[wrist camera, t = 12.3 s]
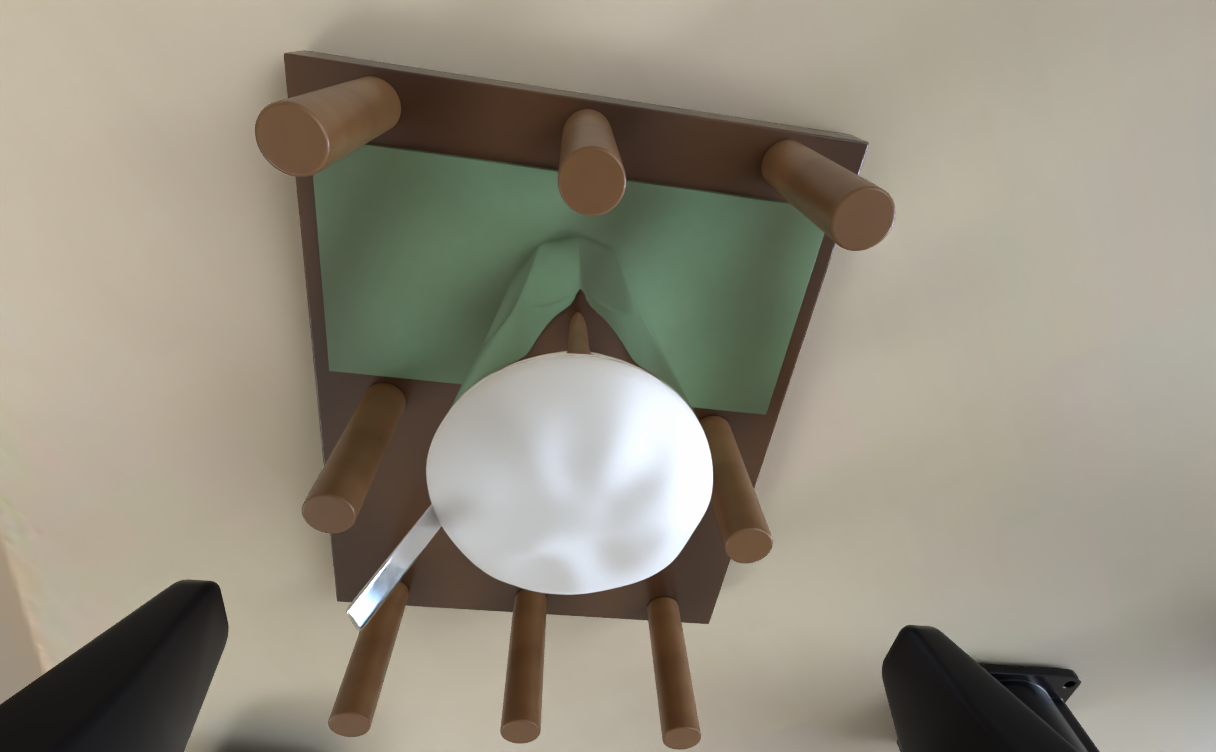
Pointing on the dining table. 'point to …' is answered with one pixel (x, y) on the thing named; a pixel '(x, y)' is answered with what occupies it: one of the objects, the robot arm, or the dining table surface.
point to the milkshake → (563, 441)
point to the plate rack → (477, 283)
